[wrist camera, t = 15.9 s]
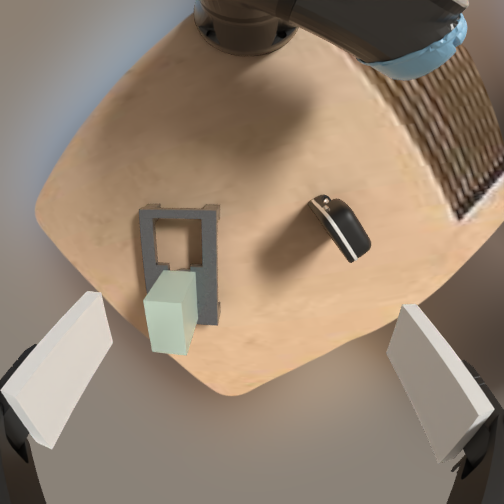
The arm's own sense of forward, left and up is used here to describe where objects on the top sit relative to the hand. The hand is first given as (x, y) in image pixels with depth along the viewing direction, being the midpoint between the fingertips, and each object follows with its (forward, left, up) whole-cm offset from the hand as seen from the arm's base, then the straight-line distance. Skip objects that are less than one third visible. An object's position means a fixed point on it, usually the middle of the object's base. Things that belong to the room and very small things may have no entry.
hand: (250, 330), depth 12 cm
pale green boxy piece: (+14, -10, -31) cm, 36 cm away
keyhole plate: (+10, -10, -32) cm, 35 cm away
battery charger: (+2, +11, -32) cm, 34 cm away
